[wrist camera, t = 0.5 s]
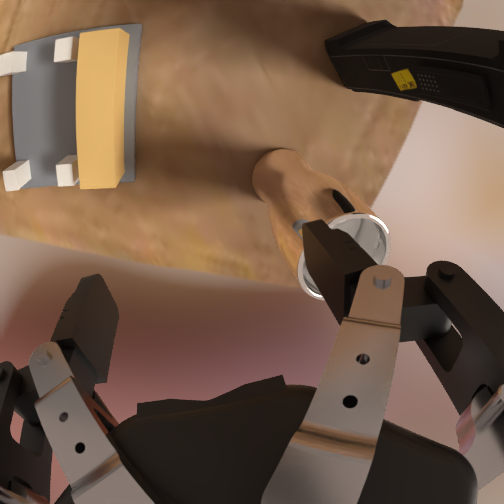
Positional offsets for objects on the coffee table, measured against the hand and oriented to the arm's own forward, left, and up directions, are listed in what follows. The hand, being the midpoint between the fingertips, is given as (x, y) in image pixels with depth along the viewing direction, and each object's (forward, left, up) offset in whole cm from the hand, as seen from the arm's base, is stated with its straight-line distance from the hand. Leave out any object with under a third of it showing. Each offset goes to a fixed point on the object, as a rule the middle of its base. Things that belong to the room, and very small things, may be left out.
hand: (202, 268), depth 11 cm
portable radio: (-11, +15, -19) cm, 27 cm away
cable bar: (-4, -8, -18) cm, 20 cm away
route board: (-4, -12, -19) cm, 23 cm away
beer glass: (+3, +9, -19) cm, 21 cm away
